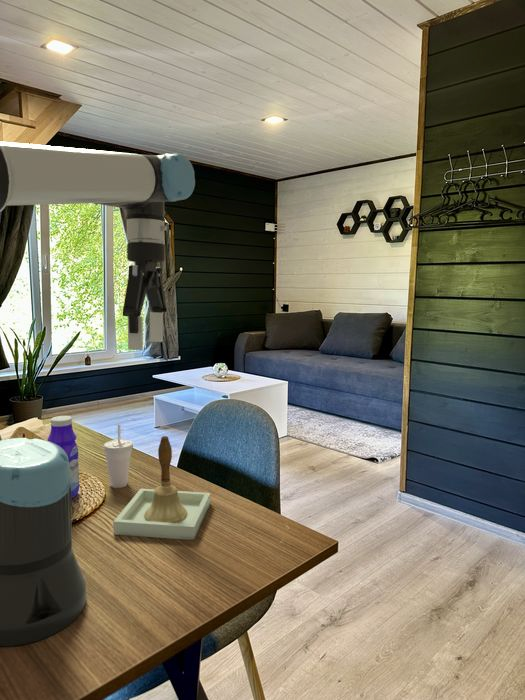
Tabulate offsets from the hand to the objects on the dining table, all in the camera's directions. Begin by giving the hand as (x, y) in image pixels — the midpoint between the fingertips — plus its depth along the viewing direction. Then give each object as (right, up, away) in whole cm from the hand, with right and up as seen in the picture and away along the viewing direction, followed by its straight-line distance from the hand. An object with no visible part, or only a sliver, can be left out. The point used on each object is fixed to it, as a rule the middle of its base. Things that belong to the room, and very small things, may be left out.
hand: (146, 345), depth 106 cm
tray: (+5, -34, -7) cm, 35 cm away
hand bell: (+5, -34, -6) cm, 35 cm away
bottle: (-18, -33, +2) cm, 37 cm away
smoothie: (-8, -32, +9) cm, 34 cm away
